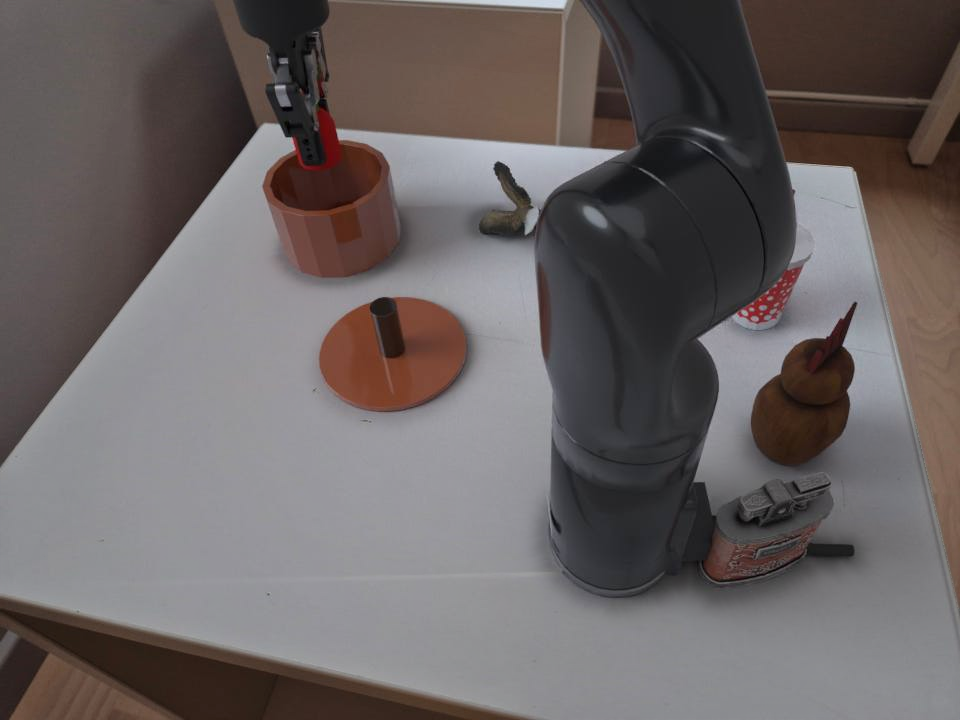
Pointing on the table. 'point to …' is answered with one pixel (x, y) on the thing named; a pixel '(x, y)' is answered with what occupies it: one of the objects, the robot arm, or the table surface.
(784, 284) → the beverage cup
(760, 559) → the lighter
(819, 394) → the wooden figurine
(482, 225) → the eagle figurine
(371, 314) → the lid
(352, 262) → the pot
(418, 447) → the table surface
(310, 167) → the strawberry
